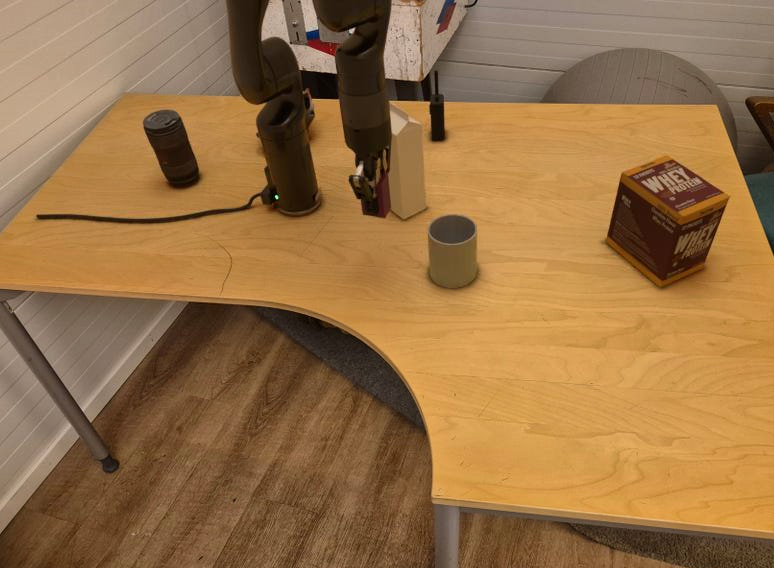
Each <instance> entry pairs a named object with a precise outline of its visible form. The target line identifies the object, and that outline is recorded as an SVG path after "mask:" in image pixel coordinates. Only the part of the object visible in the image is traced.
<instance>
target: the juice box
mask: <svg viewBox="0 0 774 568" xmlns="http://www.w3.org/2000/svg"><path fill="white" fill-rule="evenodd" d="M364 177H365V176H364ZM368 178H374V177H368ZM369 187H370V190H372V188H371V185H369ZM377 198H378V207H379V213H378V214H377V215H370V214H367V213H366V210H365V203H364V200H361V199H360V207H361V211H362V212H361V213H362V216H368V217H373V218H379V219H386V218H387V216H388V214H389V212H390V211H391V210H390V209H391V200H390V189H389V178H388V173H380V168H379V183H378V184H377Z"/></svg>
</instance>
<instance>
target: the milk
mask: <svg viewBox="0 0 774 568" xmlns="http://www.w3.org/2000/svg"><path fill="white" fill-rule="evenodd" d="M389 105H390V117H391V129H392V141H391V158H390V171H389V173H388V178H389V189H390V200H391V209H390V211H391V212H393V213H394V214H395V215H397V216H398V217H399V218H401V219H402V220H403V221H404V220H406V219H408V218H410V217H412V216H414V215H416V214H418V213H420V212H422V211H424V210H426V209H427V199H426V179H425V178H426V177H425V161H424V160H425V159H424V157H425V156H424V139H423V124H422V123H421V122H419V121H417V120H416V119H414V118H412V117H411V116H409V113H408V112H407V111H405V110H403V109H402V108H400V107H399V106H397V105H396V104H394V103H392V102H390V101H389Z"/></svg>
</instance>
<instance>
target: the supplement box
mask: <svg viewBox="0 0 774 568" xmlns="http://www.w3.org/2000/svg"><path fill="white" fill-rule="evenodd" d="M730 198H731V195H729V194H728V193H726V192H725V191H722V190H721V189H720V188H718V187H717V186H715V185H713V184H712V183H710V182H709V181H707V180H706V179H705V178H703V177H702V176H700V175H699V174H697V173H695V172H694V171H692V170H691V169H689V168H687V166H685V165H683V164H682V163H679V162H678V161H677V160H675V159H673V158H672V157H670V156H669V155H664V156H662V157H659V158H656V159H654V160H651V161H649V162H646V163H643V164H641V165H638V166H635V167H632V168H630V169H627V170H624V171H622V172H621V173H620V177H619V181H618V187H617V190H616V195H615V200H614V204H613V208H612V213H611V217H610V222H609V225H608V230H607V235H606V238H605V243H606V244H607V245H608V246H609V247H611V248H612V249H614V251H616V252H617V253H618V254H619V255H620V256H622V258H624V259H625V260H626V261H627V262H629V263H630V264H631V265H632V266H634V267H635V268H636V269H637V270H638V271H640V272H641V273H642V274H643V275H644V276H645V277H646V278H648V279H649V280H650V281H651V282H652V283H653V284H655V285H656V286H657V287H659V288H662V287H664V286H667V285H668V284H671V283H673V282H676V281H678V280H680V279H682V278H684V277H686V276H689V275H691V274H692V273H695V272H697V271H700V270H702V269H703V268H704V267H705V264H706V261H707V258H708V256H709V252H710V251H711V248H712V245H713V242H714V240H715V238H716V234H717V231H718V229H719V226H720V223H721V221H722V218H723V215H724V213H725V210H726V207H727V205H728V203H729V200H730Z"/></svg>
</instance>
